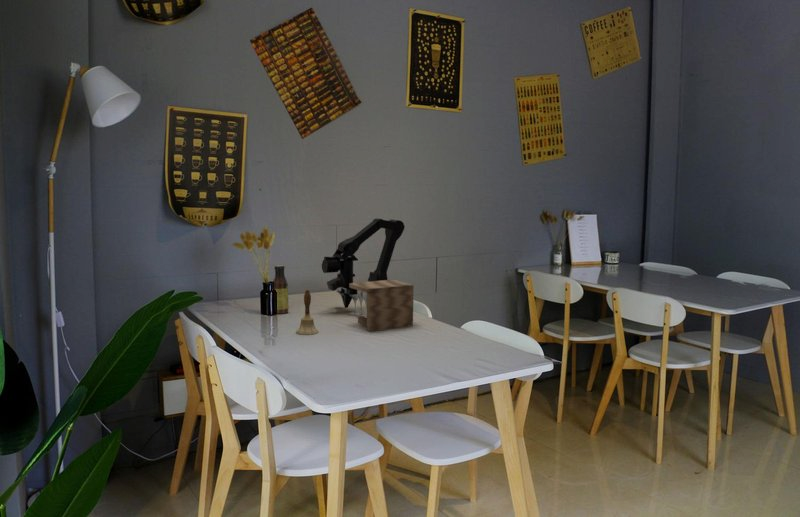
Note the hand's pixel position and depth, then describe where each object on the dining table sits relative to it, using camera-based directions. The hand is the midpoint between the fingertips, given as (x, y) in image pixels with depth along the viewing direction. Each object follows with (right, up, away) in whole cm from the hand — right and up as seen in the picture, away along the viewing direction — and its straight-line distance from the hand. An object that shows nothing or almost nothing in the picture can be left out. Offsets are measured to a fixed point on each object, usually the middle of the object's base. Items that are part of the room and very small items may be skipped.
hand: (346, 307), depth 285 cm
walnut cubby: (+15, -5, -23) cm, 28 cm away
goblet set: (+9, -4, -14) cm, 18 cm away
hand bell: (-12, -7, -36) cm, 39 cm away
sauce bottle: (-27, -2, -4) cm, 28 cm away
